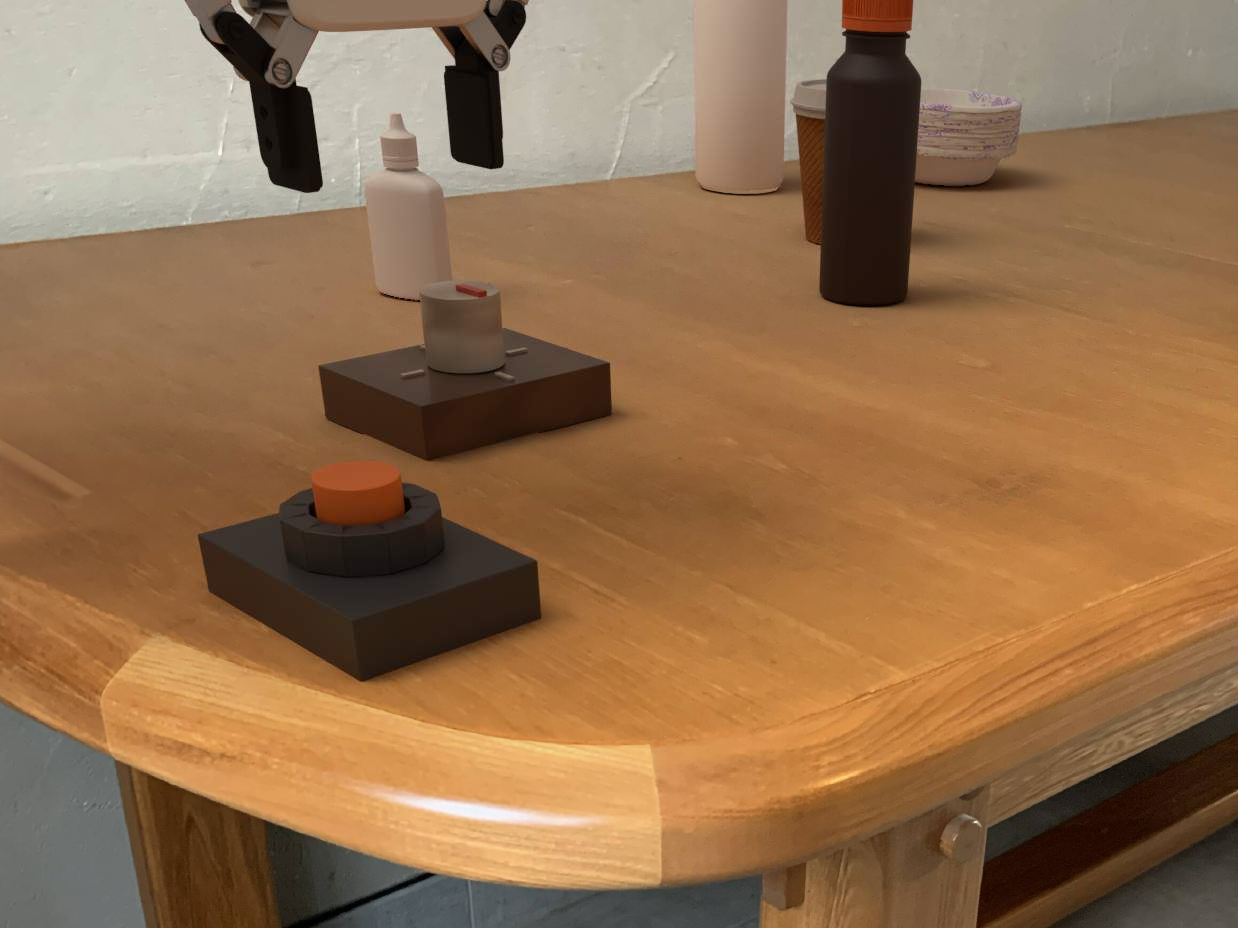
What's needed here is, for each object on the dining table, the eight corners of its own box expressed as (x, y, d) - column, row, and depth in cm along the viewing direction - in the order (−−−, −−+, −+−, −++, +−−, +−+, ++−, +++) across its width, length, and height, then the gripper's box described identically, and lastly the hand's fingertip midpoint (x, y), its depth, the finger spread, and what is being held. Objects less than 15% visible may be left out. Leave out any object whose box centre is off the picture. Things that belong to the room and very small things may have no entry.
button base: (361, 683, 60) (345, 576, 57) (208, 592, 66) (188, 493, 64) (542, 619, 65) (535, 519, 63) (384, 541, 72) (372, 447, 69)
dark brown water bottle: (861, 281, 119) (875, -12, 108) (925, 298, 115) (947, -5, 104) (800, 293, 115) (808, -10, 104) (864, 311, 111) (881, -2, 100)
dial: (410, 361, 86) (402, 282, 84) (473, 348, 89) (466, 271, 86) (457, 378, 84) (450, 297, 81) (520, 364, 86) (515, 285, 84)
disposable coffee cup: (781, 247, 129) (784, 89, 122) (793, 225, 136) (797, 75, 130) (892, 253, 128) (902, 95, 121) (898, 231, 136) (908, 81, 129)
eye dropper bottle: (424, 283, 114) (405, 106, 107) (460, 299, 110) (443, 116, 104) (370, 290, 112) (348, 110, 105) (405, 306, 108) (385, 120, 101)
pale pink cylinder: (777, 179, 155) (784, -176, 138) (788, 196, 148) (797, -177, 131) (692, 178, 154) (689, -180, 137) (698, 195, 147) (696, -182, 130)
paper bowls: (1041, 180, 160) (1050, 96, 156) (962, 198, 150) (970, 109, 146) (922, 161, 168) (928, 81, 163) (840, 177, 158) (844, 92, 153)
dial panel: (427, 462, 81) (420, 403, 79) (325, 418, 87) (317, 362, 85) (612, 414, 89) (610, 359, 87) (508, 376, 95) (504, 324, 93)
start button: (347, 537, 61) (341, 495, 60) (300, 513, 63) (293, 472, 62) (422, 516, 64) (417, 475, 63) (374, 493, 66) (368, 454, 65)
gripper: (459, -286, 66) (491, 147, 75) (73, -327, 55) (168, 184, 64) (573, -289, 62) (592, 168, 71) (180, -335, 51) (265, 212, 60)
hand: (391, 175), depth 68 cm, fingers open, 9 cm apart
